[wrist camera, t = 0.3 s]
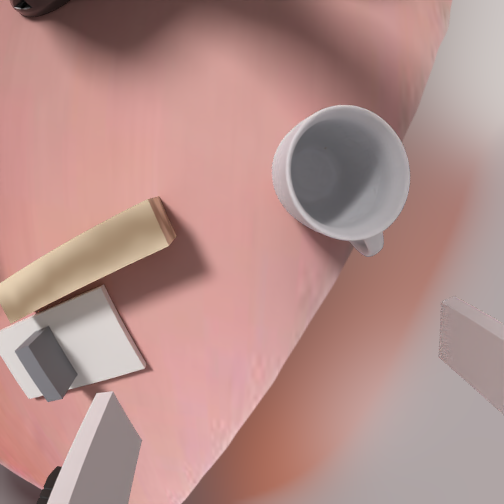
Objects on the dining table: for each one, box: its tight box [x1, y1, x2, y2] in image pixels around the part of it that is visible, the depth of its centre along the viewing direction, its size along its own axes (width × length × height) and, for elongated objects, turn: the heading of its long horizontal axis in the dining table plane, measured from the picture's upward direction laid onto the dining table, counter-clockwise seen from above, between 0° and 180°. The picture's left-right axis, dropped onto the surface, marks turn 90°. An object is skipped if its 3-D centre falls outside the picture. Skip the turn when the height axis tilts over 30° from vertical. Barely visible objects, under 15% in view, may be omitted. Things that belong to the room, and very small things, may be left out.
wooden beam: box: [0, 197, 176, 323], centre depth 32 cm, size 5×24×6 cm, turn 113°
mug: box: [272, 105, 410, 257], centre depth 30 cm, size 15×11×13 cm
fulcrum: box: [0, 285, 146, 402], centre depth 34 cm, size 12×24×7 cm, turn 111°
